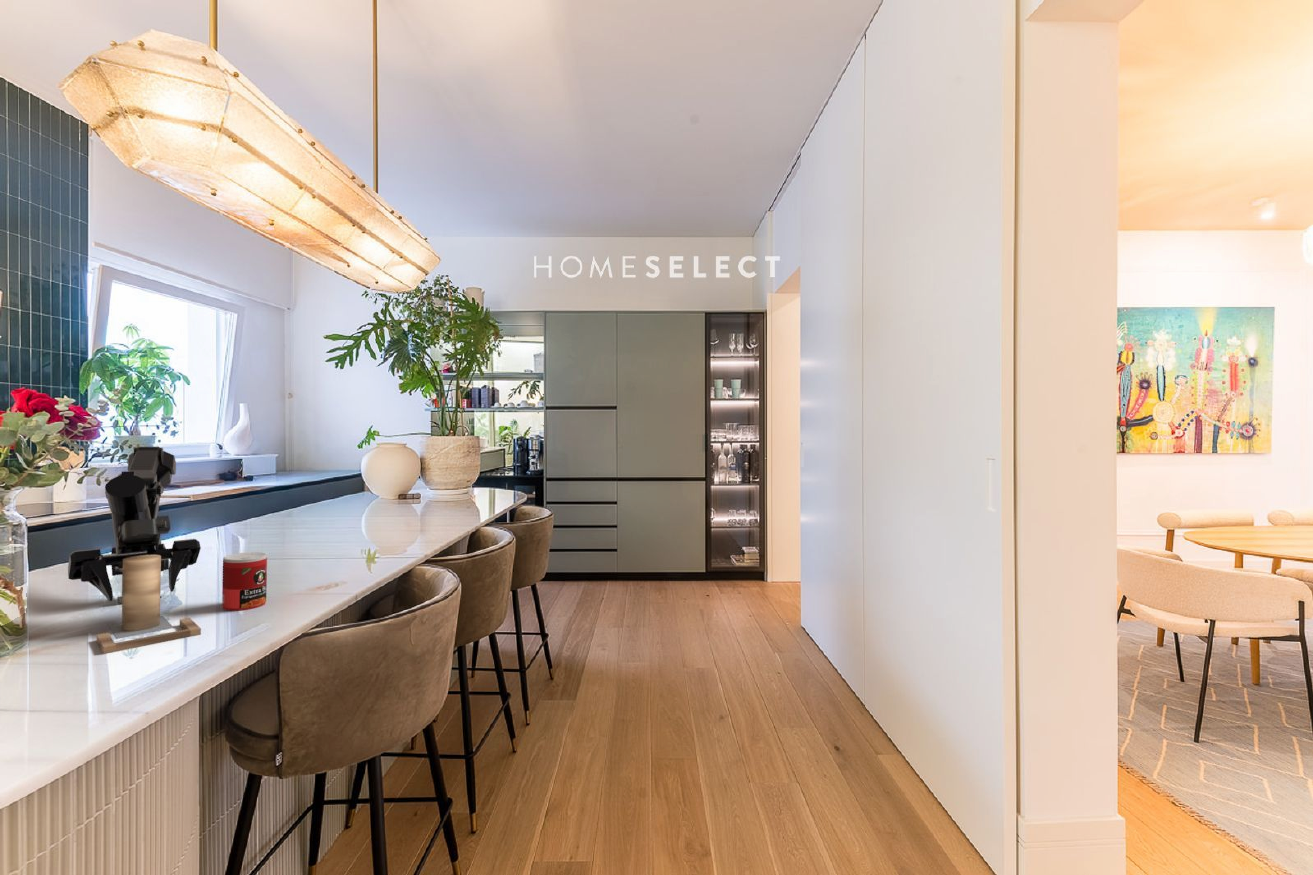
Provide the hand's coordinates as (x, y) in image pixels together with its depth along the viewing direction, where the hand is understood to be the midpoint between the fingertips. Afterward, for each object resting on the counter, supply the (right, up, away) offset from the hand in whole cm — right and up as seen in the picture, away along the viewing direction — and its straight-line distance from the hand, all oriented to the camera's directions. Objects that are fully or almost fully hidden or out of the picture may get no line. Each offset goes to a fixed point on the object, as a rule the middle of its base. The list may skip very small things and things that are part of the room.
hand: (142, 594), depth 109 cm
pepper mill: (-1, -6, +1) cm, 6 cm away
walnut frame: (+5, -7, -4) cm, 9 cm away
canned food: (+8, -7, +15) cm, 19 cm away
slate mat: (-1, -7, +1) cm, 7 cm away
